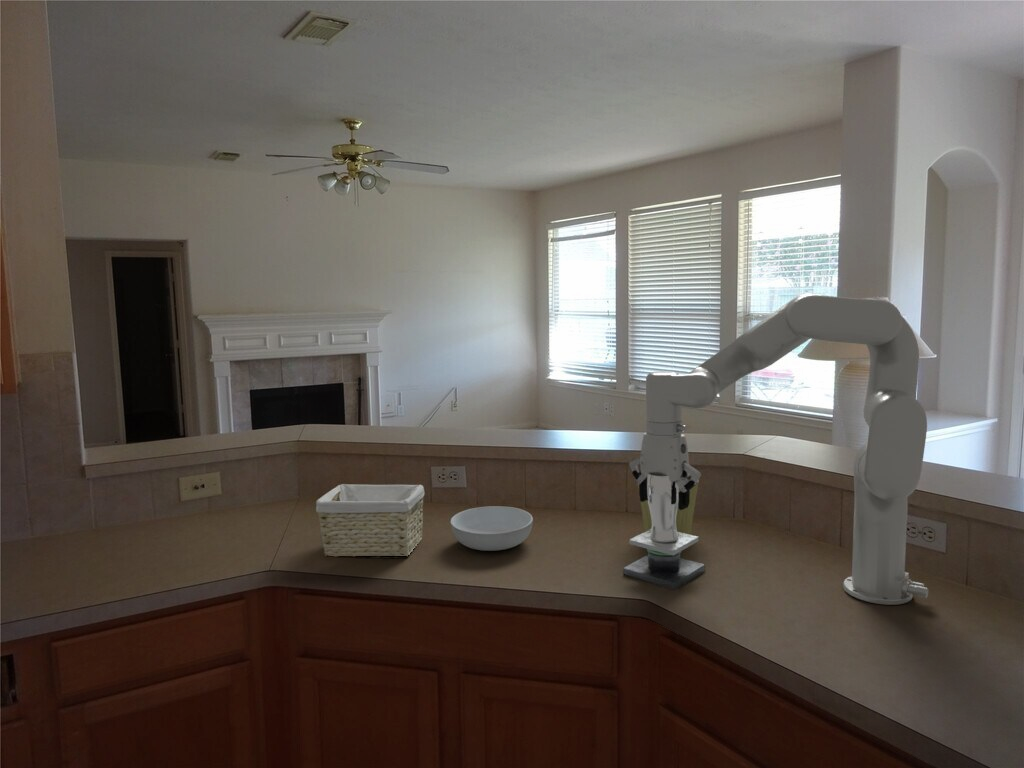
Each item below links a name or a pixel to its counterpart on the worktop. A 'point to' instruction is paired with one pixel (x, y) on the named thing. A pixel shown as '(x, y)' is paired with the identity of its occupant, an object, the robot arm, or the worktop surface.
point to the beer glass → (662, 507)
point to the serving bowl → (491, 527)
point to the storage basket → (371, 519)
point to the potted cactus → (682, 516)
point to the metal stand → (664, 561)
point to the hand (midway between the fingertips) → (663, 504)
